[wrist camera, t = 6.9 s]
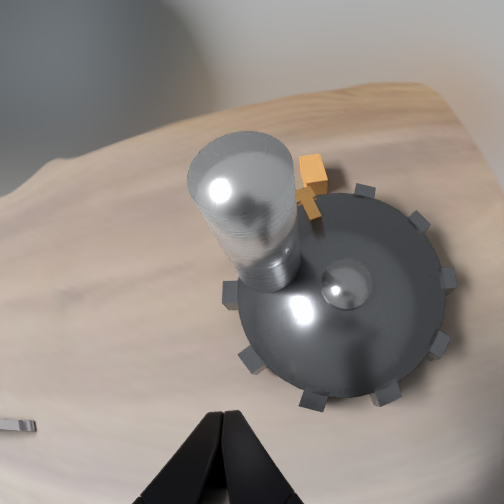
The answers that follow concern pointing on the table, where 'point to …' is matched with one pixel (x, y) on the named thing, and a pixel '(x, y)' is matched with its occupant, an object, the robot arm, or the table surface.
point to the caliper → (17, 425)
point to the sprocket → (320, 274)
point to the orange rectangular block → (314, 173)
